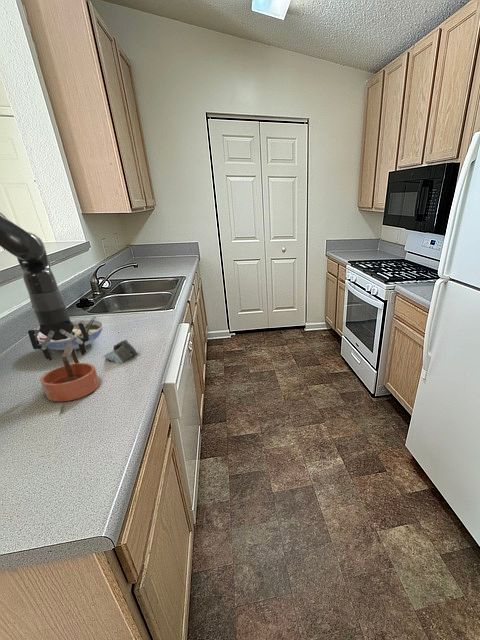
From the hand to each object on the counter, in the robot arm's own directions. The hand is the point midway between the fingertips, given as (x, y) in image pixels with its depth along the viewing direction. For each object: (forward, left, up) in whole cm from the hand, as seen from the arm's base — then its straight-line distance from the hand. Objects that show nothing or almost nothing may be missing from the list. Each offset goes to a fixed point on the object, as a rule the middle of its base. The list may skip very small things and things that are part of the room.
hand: (67, 356), depth 102 cm
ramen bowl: (-3, +31, -9) cm, 32 cm away
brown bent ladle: (0, 0, -8) cm, 8 cm away
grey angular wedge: (+12, +11, -9) cm, 19 cm away
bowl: (0, -7, -8) cm, 11 cm away
